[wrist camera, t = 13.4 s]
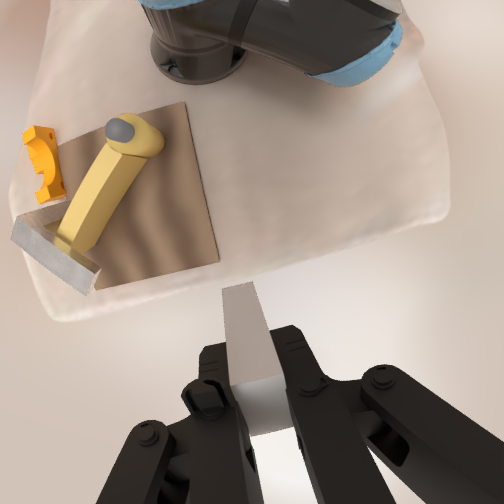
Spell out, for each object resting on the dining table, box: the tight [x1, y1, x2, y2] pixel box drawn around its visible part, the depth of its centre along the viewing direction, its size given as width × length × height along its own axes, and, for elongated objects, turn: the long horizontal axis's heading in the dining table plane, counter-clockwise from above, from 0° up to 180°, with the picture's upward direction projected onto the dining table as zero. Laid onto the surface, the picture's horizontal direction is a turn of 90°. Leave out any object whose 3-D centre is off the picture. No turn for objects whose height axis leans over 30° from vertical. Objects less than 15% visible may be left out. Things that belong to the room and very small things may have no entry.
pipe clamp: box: [23, 126, 66, 204], centre depth 33 cm, size 12×4×6 cm, turn 16°
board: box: [57, 102, 220, 290], centre depth 39 cm, size 22×25×1 cm
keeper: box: [11, 200, 101, 296], centre depth 32 cm, size 12×3×17 cm, turn 56°
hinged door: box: [55, 113, 165, 254], centre depth 30 cm, size 20×4×15 cm, turn 142°
